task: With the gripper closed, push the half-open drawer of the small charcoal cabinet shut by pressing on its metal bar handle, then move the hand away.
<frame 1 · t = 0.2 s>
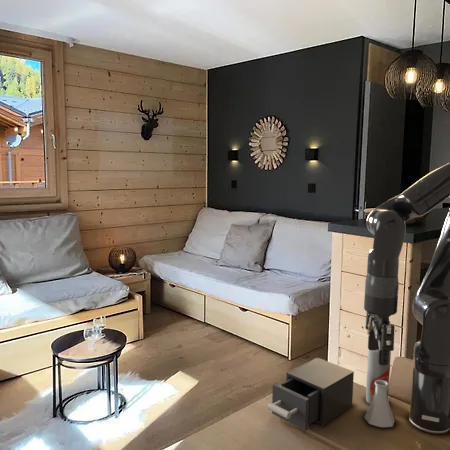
hand: (377, 356, 110), 17 cm above the table, tool pointing down, fingers open, 8 cm apart
flask: (379, 421, 113), on the table
drawer: (298, 401, 113), point 5 cm above the table, slide at 5.0 cm
cabinet: (319, 406, 120), on the table
lotion bottle: (376, 402, 122), on the table
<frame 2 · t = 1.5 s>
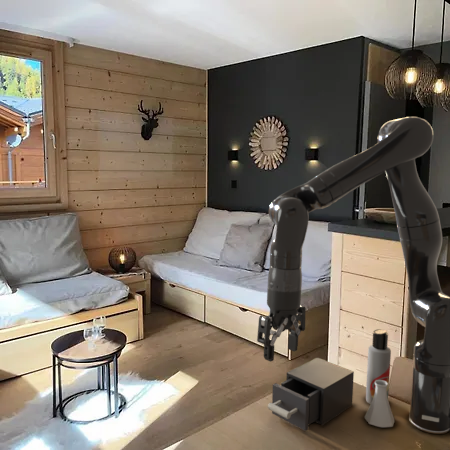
hand: (281, 354, 103), 21 cm above the table, tool pointing down, fingers open, 8 cm apart
nothing on the table moved.
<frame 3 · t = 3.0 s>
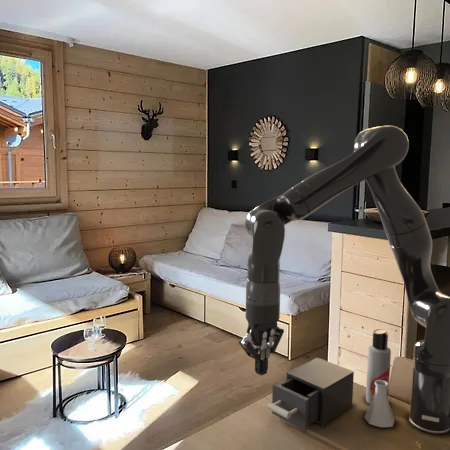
hand: (261, 373, 102), 17 cm above the table, tool pointing down, fingers closed
nothing on the table moved.
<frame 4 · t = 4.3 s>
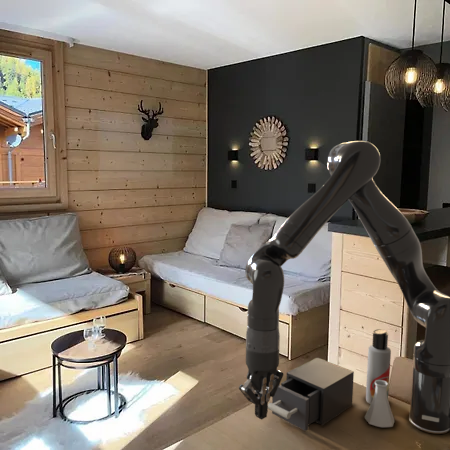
hand: (261, 416, 103), 6 cm above the table, tool pointing down, fingers closed
nothing on the table moved.
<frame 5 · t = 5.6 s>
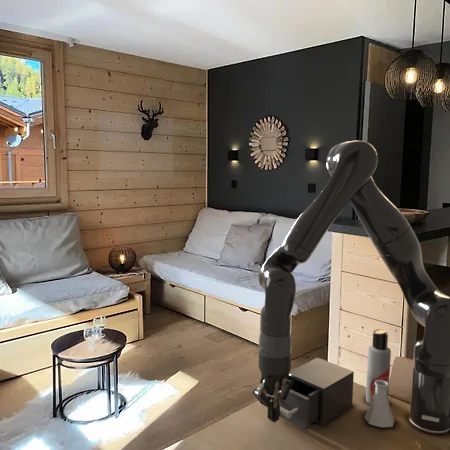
hand: (273, 419, 106), 4 cm above the table, tool pointing down, fingers closed
drawer: (299, 400, 113), point 5 cm above the table, slide at 4.7 cm, touching gripper
everything else where it was.
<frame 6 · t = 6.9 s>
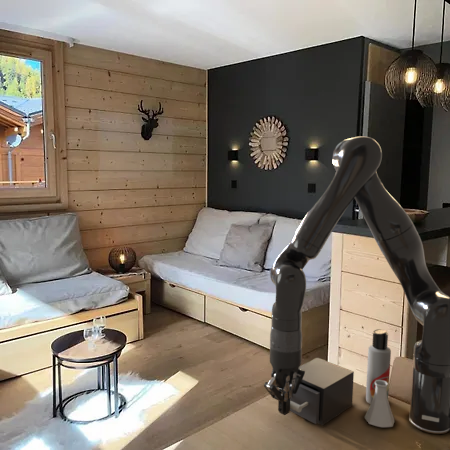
hand: (284, 412, 109), 4 cm above the table, tool pointing down, fingers closed
drawer: (309, 395, 116), point 5 cm above the table, slide at 0.8 cm, touching gripper
everything else where it was.
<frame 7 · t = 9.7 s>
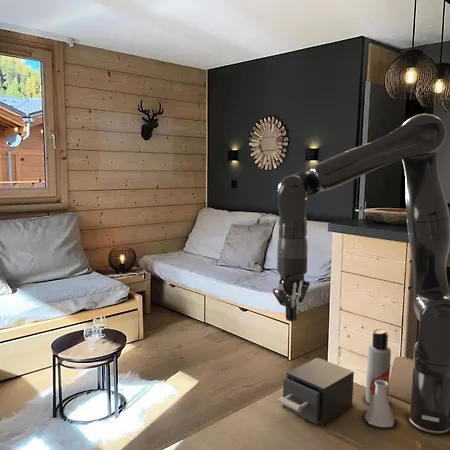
hand: (291, 320, 116), 24 cm above the table, tool pointing down, fingers closed
drawer: (309, 395, 116), point 5 cm above the table, slide at 0.8 cm
everything else where it was.
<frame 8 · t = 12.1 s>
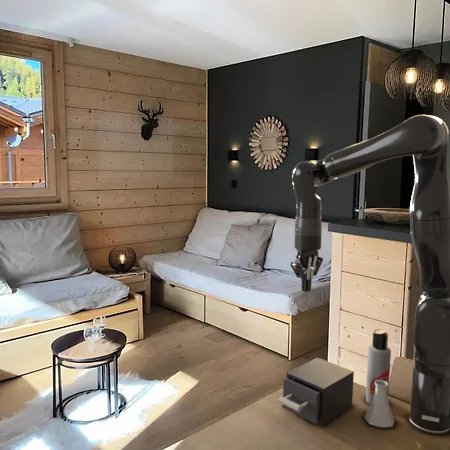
hand: (306, 291, 131), 27 cm above the table, tool pointing down, fingers closed
nothing on the table moved.
at the end: drawer slide at 0.8 cm; flask moved 0.2 cm from its start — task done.
